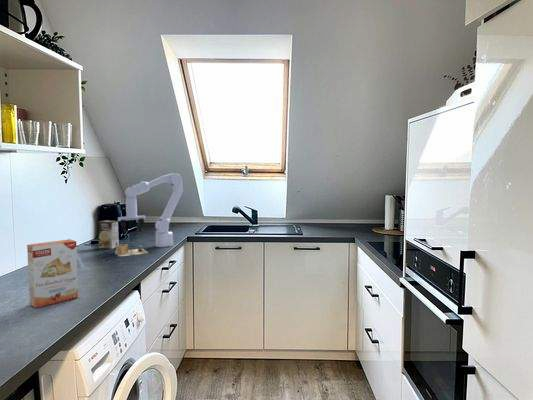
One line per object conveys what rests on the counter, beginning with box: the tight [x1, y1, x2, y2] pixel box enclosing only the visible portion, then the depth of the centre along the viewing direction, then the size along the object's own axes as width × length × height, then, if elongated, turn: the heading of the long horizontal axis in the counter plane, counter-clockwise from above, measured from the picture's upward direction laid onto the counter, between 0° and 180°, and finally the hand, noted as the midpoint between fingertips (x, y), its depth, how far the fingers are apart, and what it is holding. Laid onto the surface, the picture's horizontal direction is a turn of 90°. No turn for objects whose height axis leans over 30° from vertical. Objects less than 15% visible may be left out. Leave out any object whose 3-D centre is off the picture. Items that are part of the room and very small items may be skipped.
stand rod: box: [137, 245, 143, 252], centre depth 203 cm, size 2×2×3 cm
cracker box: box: [26, 238, 79, 309], centre depth 129 cm, size 14×6×21 cm, turn 138°
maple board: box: [114, 247, 149, 257], centre depth 201 cm, size 15×13×1 cm
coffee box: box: [98, 219, 120, 249], centre depth 214 cm, size 9×6×16 cm
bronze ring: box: [115, 243, 130, 254], centre depth 198 cm, size 6×6×4 cm
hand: (132, 232), depth 210 cm, fingers open, 7 cm apart
